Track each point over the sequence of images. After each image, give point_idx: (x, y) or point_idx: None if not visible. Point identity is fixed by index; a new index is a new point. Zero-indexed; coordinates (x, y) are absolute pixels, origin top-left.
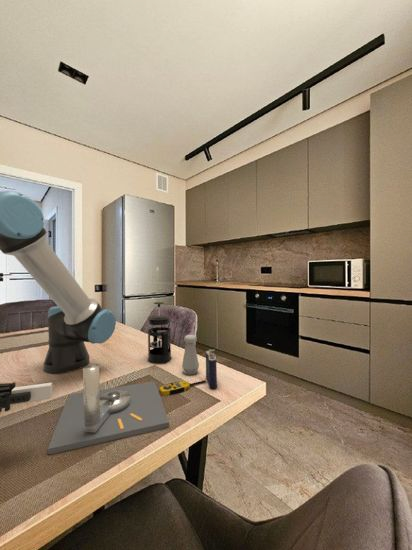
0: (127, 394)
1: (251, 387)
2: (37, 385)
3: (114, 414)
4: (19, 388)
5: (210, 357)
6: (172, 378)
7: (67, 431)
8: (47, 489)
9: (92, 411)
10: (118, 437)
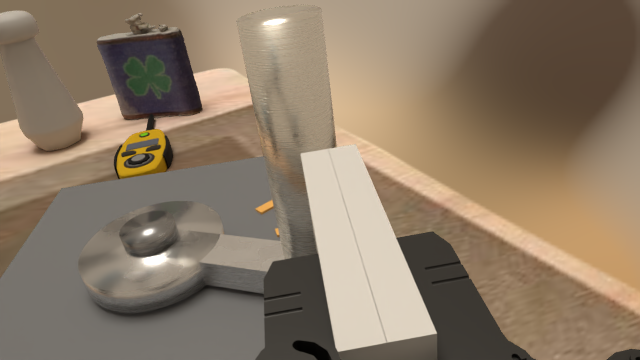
0: (152, 209)
1: (230, 75)
2: (334, 199)
3: None
4: (378, 288)
5: (162, 28)
6: (61, 170)
7: None
8: (600, 356)
9: None
10: None
